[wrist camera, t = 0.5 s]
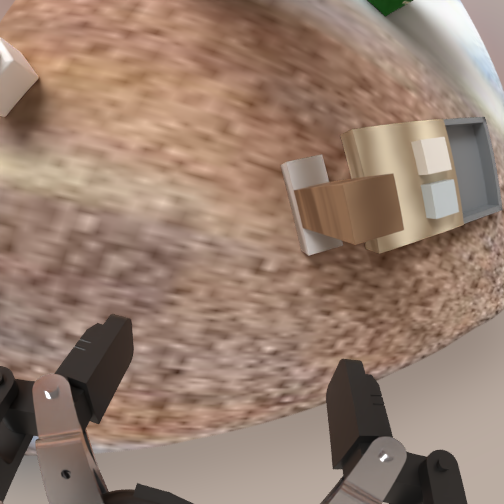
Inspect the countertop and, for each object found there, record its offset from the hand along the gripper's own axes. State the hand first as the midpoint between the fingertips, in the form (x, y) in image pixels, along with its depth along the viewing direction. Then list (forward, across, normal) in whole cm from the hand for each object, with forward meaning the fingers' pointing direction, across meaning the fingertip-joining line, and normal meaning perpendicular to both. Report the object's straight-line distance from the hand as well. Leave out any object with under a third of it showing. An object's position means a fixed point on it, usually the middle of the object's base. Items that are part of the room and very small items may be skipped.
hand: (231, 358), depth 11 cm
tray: (+33, -28, -9) cm, 44 cm away
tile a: (+27, -18, -8) cm, 34 cm away
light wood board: (+30, -17, -4) cm, 34 cm away
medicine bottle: (+24, +36, -11) cm, 44 cm away
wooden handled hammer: (+26, -5, 0) cm, 27 cm away
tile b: (+26, -21, -4) cm, 34 cm away
